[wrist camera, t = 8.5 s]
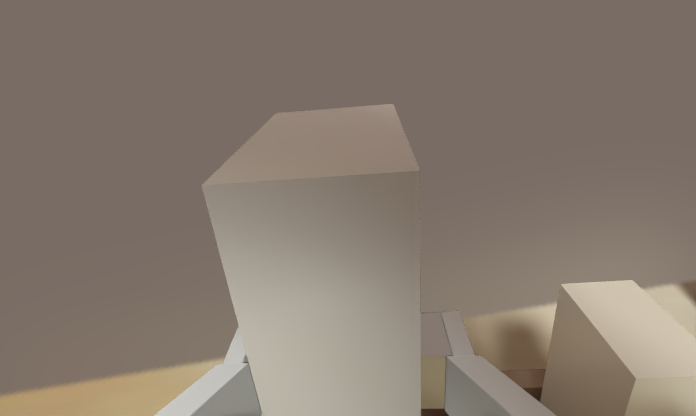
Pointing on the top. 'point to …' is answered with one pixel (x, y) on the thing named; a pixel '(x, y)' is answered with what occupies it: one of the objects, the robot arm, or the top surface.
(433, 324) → the robot arm
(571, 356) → the clay strip
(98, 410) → the top surface
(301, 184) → the clay strip
